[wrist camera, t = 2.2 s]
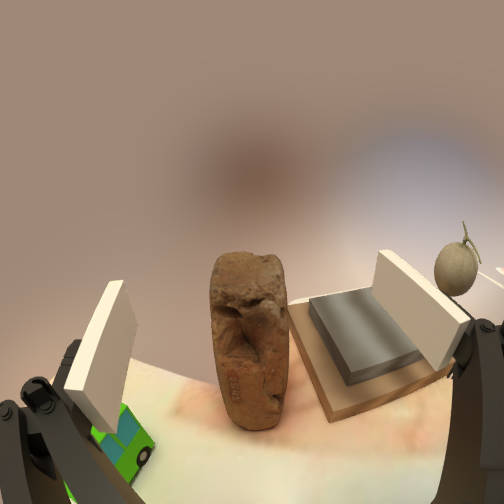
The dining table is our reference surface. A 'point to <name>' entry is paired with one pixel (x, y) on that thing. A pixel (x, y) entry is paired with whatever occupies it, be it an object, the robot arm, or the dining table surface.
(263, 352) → the block
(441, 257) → the fruit
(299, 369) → the dining table surface
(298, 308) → the tower base
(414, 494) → the dining table surface
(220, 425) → the dining table surface
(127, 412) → the toy car
